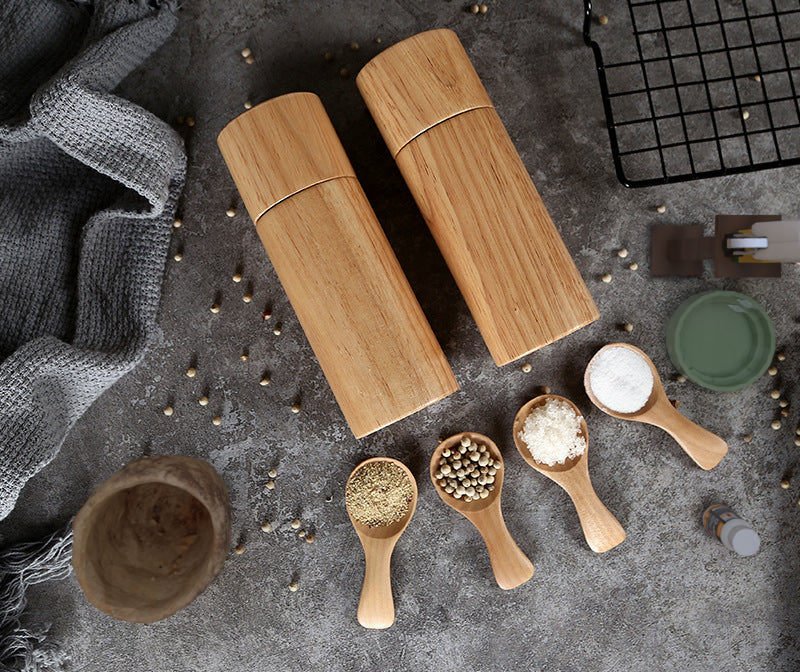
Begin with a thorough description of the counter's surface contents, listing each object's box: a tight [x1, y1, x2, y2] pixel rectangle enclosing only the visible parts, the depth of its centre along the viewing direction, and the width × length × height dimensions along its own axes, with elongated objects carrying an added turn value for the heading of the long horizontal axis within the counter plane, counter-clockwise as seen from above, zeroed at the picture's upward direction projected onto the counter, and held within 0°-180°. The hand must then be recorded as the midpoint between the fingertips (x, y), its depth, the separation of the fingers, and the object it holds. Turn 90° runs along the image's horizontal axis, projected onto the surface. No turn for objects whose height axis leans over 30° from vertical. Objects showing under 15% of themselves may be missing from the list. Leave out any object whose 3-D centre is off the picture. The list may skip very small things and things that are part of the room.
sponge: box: [734, 229, 780, 263], centre depth 88 cm, size 4×4×7 cm
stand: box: [649, 214, 783, 279], centre depth 104 cm, size 9×9×25 cm
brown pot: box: [71, 453, 232, 625], centre depth 104 cm, size 22×22×25 cm
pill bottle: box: [702, 503, 761, 557], centre depth 112 cm, size 6×6×10 cm
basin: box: [665, 289, 776, 392], centre depth 114 cm, size 18×18×4 cm
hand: (760, 245), depth 89 cm, fingers open, 9 cm apart
